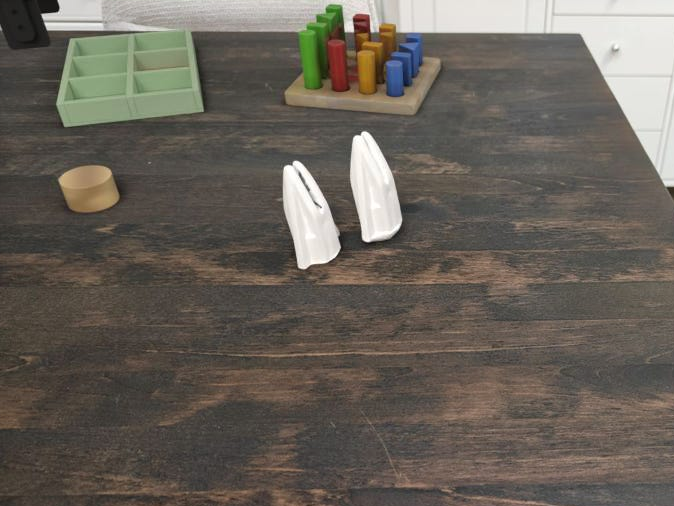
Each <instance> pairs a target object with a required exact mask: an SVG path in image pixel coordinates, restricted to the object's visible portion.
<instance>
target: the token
mask: <svg viewBox="0 0 674 506" xmlns="http://www.w3.org/2000/svg"><path fill="white" fill-rule="evenodd" d="M58 183H59V186H60V189H61V192H62V194H63V196H64V199H65V202H66V204H67V207H68V208H69V209H70V210H71V211H73V212H77V213H94V212H100V211H104V210H106V209H109V208H111V207H112V206H114V205H116V203H118V201H119V200H120V198H121V197H120V192H119V189H118V187H117V184H116V181H115V178H114V176H113V172H112V170H111V169H110V168H109V167H107V166H103V165H98V164H97V165H96V164H93V165H91V164H89V165H83V166H77V167H74V168H71V169H70V170H67V171H66V172H63V174H61V176H60V177H59V179H58Z"/></svg>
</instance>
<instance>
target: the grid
mask: <svg viewBox="0 0 674 506" xmlns="http://www.w3.org/2000/svg"><path fill="white" fill-rule="evenodd" d="M55 106H56V108H57V111H58V114H59V116H60V119H61V122H62V124H63V127H64V128H69V127H78V126H86V125H88V126H89V125H96V124H105V123H106V124H107V123H113V122H115V123H116V122H122V121H123V122H124V121H132V120H141V119H149V118H150V119H151V118H152V119H153V118H159V117H160V118H161V117H168V116H169V117H170V116H178V115H179V116H180V115H188V114H196V113H204V112H205V107H204V102H203V95H202V87H201V80H200V75H199V67H198V61H197V55H196V49H195V43H194V39H193V35H192V30H191V28H183V29H172V30H171V29H170V30H158V31H149V32H148V31H147V32H145V31H144V32H134V33H121V34H111V35H99V36H87V37H73V38H69V42H68V46H67V52H66V55H65V61H64V66H63V71H62V75H61V79H60V84H59V90H58V94H57V98H56V103H55Z"/></svg>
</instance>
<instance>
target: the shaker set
mask: <svg viewBox="0 0 674 506" xmlns="http://www.w3.org/2000/svg"><path fill="white" fill-rule="evenodd" d="M351 143H352V144H351V154H350V165H349V167H350V169H349V181H350V186H351V191H352V194H353V199H354V203H355V207H356V211H357V215H358V219H359V223H360V228H361V229H360V230H361V240H362V241H363V242H366V243H372V242H384V241H386V240H387V241H388V240H390V239H391V238H393V237H394V236H395V235H396V234H397V232H398V231H399V230H400V229H401V226H402V223H403V216H402V210H401V206H400V201H399V195H398V192H397V187H396V183H395V178H394V176H393V175H394V174H393V173H392V170H391V167H390V166H389V164H388V162H387V160H386V158H385V156H384V154H383V152H382V150H381V149H380V147H379V144H378V143H377V142H376V140H375V139H374V138H373V136H372V135H371V134H370V133H369V132H367V131H362V132H361V133H360V135H354V136H353V138H352V142H351ZM282 201H283V202H282V203H283V212H284V214H285V215H284V216H285V219H286V221H287V225H288V228H289V231H290V234H291V237H292V240H293V243H294V244H293V245H294V250H295V257H296V262H297V268H298V269H301V270H306V269H308V268H309V267H310V266H311V265H315V264H316V265H322V264H326V263H329V262H330V261H332V260H333V259H335V258H336V257H337V256H338V254H339V252H340V251H341V243H340V240H339V237H340V236H341V235H340V230H339V228H338V226H337V225H336V224H335V222H334V218H333V216H332V212H331V209H330V206H329V204H328V202H327V199H326V198H325V196H324V194H323V192H322V191H321V189H320V187H319V185H318V183H317V182H316V181H315V178H314V177H313V176H312V174H311V173H310V171H309V170H308V169H307V168H306V166H305V165H304V164H303V163H301V162H300V161H299V160H293V161H292V165H290V164H287V165H285V166H284V167H283V173H282Z"/></svg>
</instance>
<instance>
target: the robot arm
mask: <svg viewBox="0 0 674 506" xmlns="http://www.w3.org/2000/svg"><path fill="white" fill-rule="evenodd" d="M60 9H61V7H60V4H59V1H58V0H0V28H1V31H2V33H3V36H4V38H5V41H6V43H7V46H8V48H10V49H11V50H13V51H19V50H29V49H38V48H39V49H40V48H48V47H50V45H51V42H52V41H51V37H50V34H49V31H48V28H47V26H46V24H45V20H44V18H43V15H47V14H57V13H58V12H60Z"/></svg>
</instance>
